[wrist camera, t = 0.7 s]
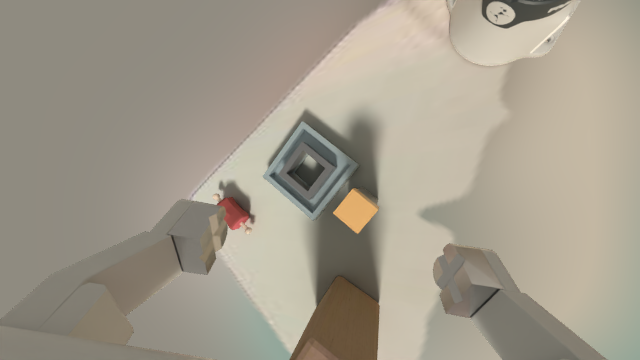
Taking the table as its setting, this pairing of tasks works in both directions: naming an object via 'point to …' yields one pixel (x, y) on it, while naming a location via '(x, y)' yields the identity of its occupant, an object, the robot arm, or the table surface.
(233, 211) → the meat
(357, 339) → the wooden block
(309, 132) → the box
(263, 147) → the table surface
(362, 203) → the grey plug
